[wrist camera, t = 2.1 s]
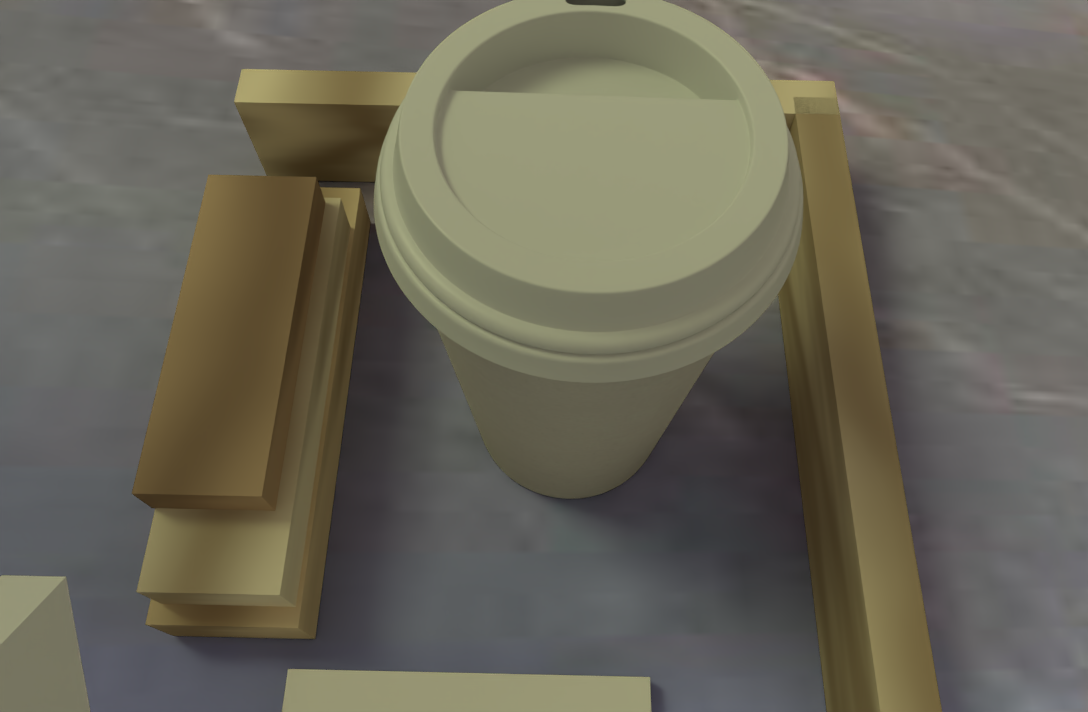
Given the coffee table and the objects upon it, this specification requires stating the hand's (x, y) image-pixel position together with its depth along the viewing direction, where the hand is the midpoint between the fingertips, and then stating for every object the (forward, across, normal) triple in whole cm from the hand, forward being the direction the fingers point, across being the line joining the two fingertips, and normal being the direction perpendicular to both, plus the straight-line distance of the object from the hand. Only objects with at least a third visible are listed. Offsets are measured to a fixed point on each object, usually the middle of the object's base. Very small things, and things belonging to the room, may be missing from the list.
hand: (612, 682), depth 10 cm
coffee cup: (+20, 0, -5) cm, 21 cm away
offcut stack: (+20, -10, -5) cm, 23 cm away
